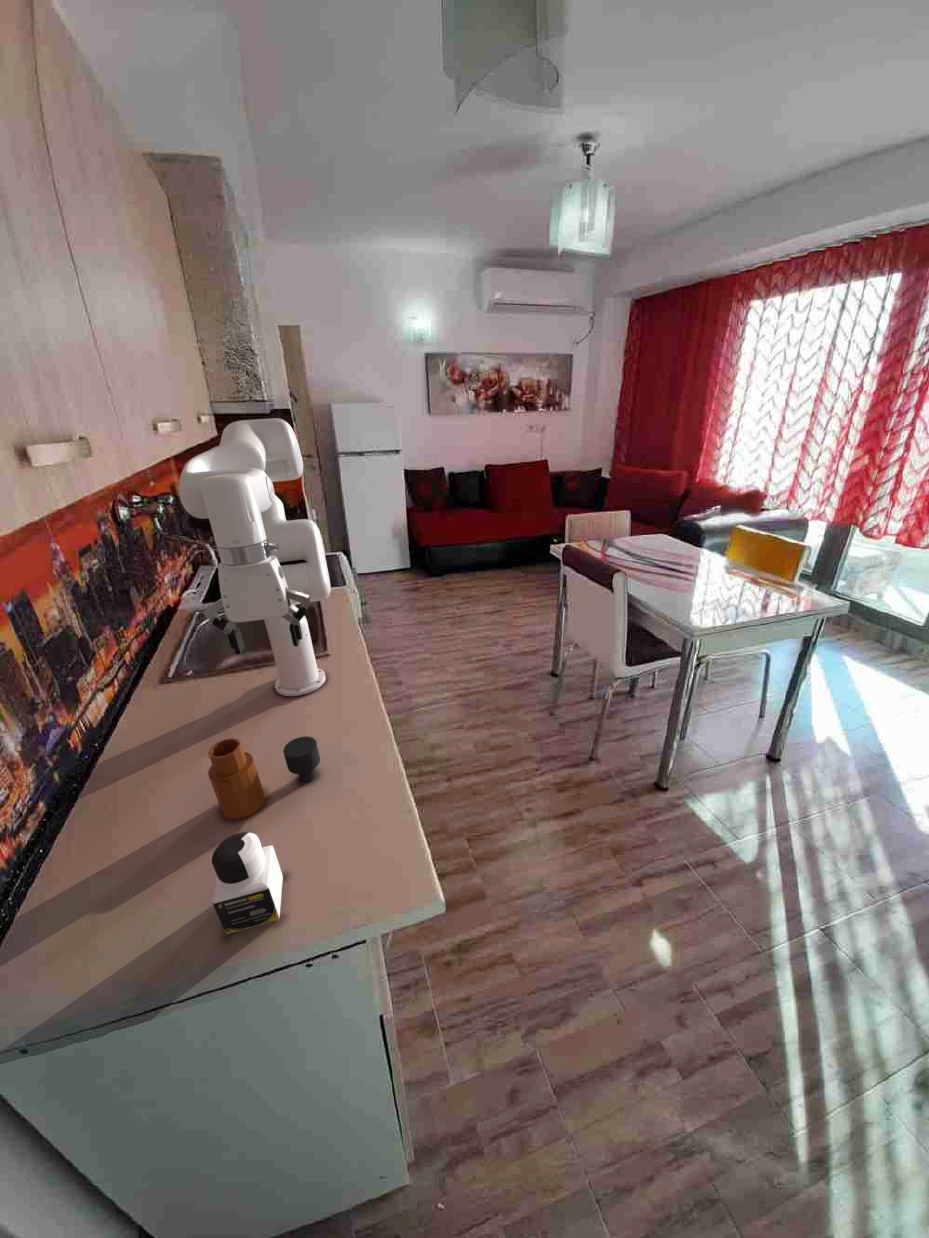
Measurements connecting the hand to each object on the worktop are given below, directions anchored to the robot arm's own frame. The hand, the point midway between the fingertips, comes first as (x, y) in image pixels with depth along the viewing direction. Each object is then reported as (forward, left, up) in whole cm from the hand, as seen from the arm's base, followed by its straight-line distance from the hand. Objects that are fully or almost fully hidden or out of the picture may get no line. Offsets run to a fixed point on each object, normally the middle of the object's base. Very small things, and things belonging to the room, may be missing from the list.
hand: (269, 647), depth 84 cm
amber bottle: (+8, -9, -27) cm, 30 cm away
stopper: (+4, +2, -27) cm, 27 cm away
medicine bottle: (+29, -3, -27) cm, 40 cm away
